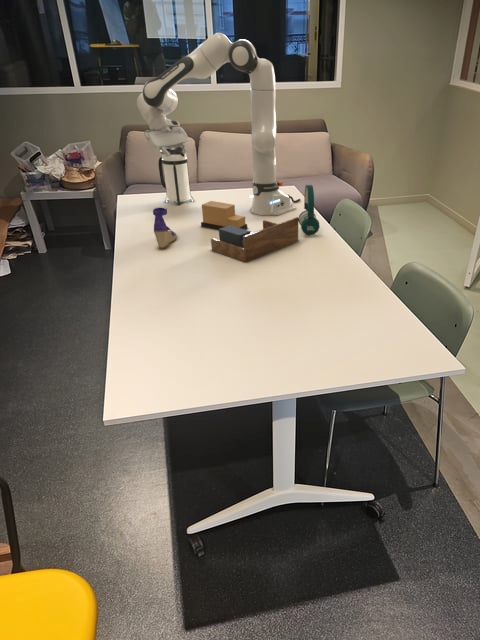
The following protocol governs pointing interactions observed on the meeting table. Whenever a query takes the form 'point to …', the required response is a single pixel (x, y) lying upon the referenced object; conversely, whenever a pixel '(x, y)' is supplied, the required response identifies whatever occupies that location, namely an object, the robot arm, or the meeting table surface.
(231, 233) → the dark grey block
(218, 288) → the meeting table surface
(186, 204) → the meeting table surface
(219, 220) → the tan stepped block
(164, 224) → the purple and beige piece
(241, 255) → the wooden corner tray
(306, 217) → the headphones
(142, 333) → the meeting table surface
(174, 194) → the coffee press
